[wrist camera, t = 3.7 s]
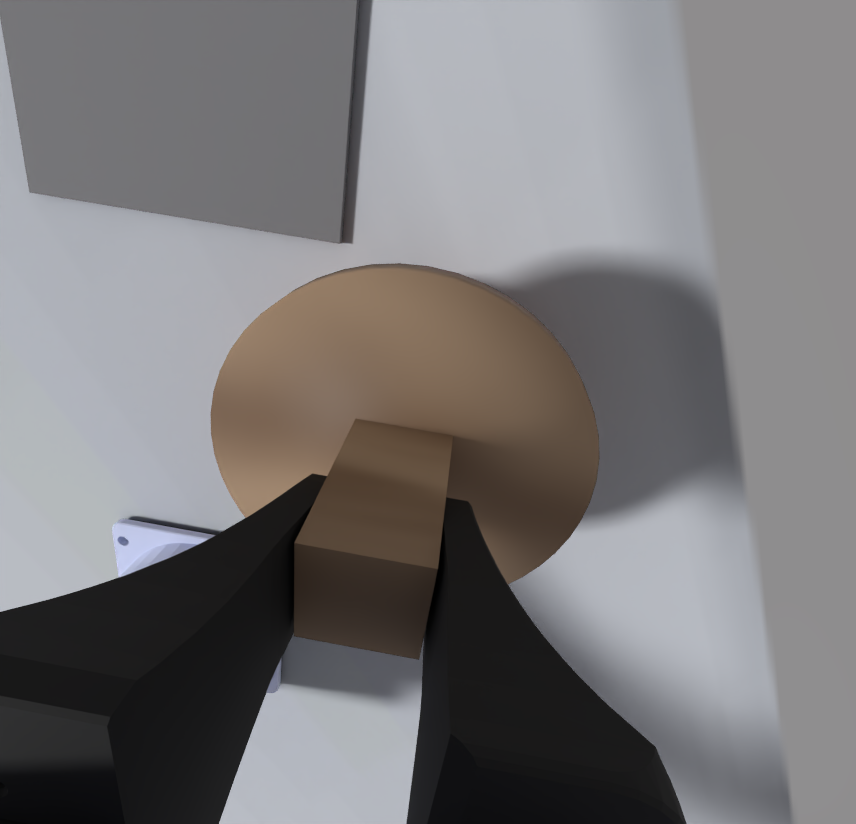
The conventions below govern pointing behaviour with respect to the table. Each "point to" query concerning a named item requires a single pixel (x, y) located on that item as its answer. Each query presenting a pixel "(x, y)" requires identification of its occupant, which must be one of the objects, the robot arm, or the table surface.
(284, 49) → the mat
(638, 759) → the robot arm
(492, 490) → the lid
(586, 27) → the table surface
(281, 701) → the table surface
